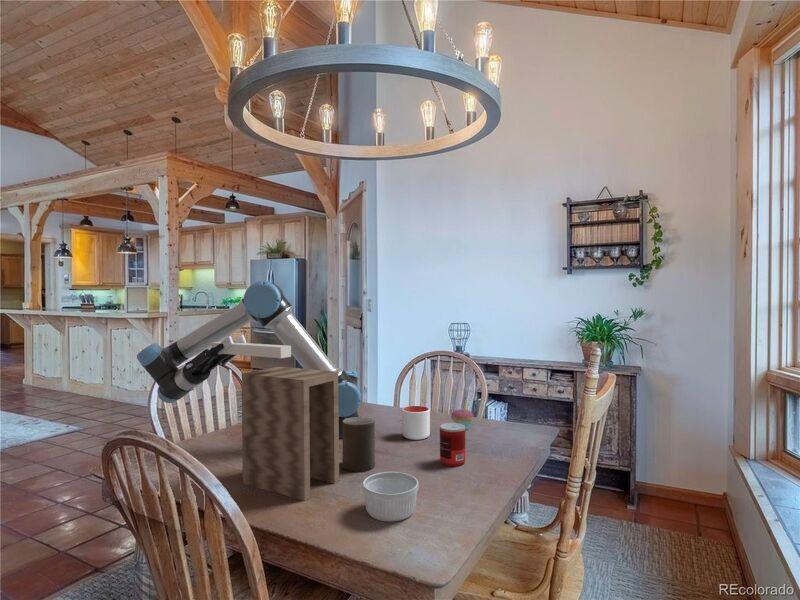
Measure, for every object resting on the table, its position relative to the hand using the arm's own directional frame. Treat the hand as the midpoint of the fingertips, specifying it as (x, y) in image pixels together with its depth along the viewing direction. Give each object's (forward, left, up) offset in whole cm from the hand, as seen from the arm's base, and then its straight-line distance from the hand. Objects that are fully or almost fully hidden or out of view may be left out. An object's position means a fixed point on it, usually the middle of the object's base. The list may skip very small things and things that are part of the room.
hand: (237, 339), depth 137 cm
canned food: (-62, +12, -38) cm, 74 cm away
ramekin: (-36, +38, -39) cm, 66 cm away
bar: (-3, +3, -4) cm, 6 cm away
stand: (-14, +14, -38) cm, 43 cm away
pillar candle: (-34, +7, -39) cm, 52 cm away
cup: (-59, -16, -39) cm, 73 cm away
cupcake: (-79, -21, -38) cm, 91 cm away
